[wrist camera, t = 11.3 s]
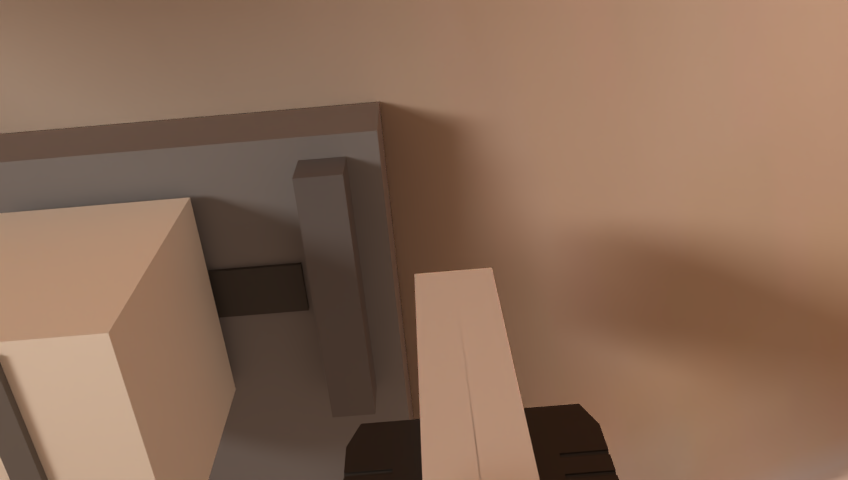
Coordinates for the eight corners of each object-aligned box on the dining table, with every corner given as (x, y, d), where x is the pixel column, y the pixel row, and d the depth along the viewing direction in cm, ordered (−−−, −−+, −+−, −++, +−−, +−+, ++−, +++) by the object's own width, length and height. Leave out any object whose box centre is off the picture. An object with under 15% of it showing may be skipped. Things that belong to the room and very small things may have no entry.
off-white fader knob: (68, 403, 18) (-44, 589, 14) (-2, 213, 16) (-163, 360, 11) (235, 389, 18) (179, 571, 14) (189, 197, 16) (104, 338, 11)
